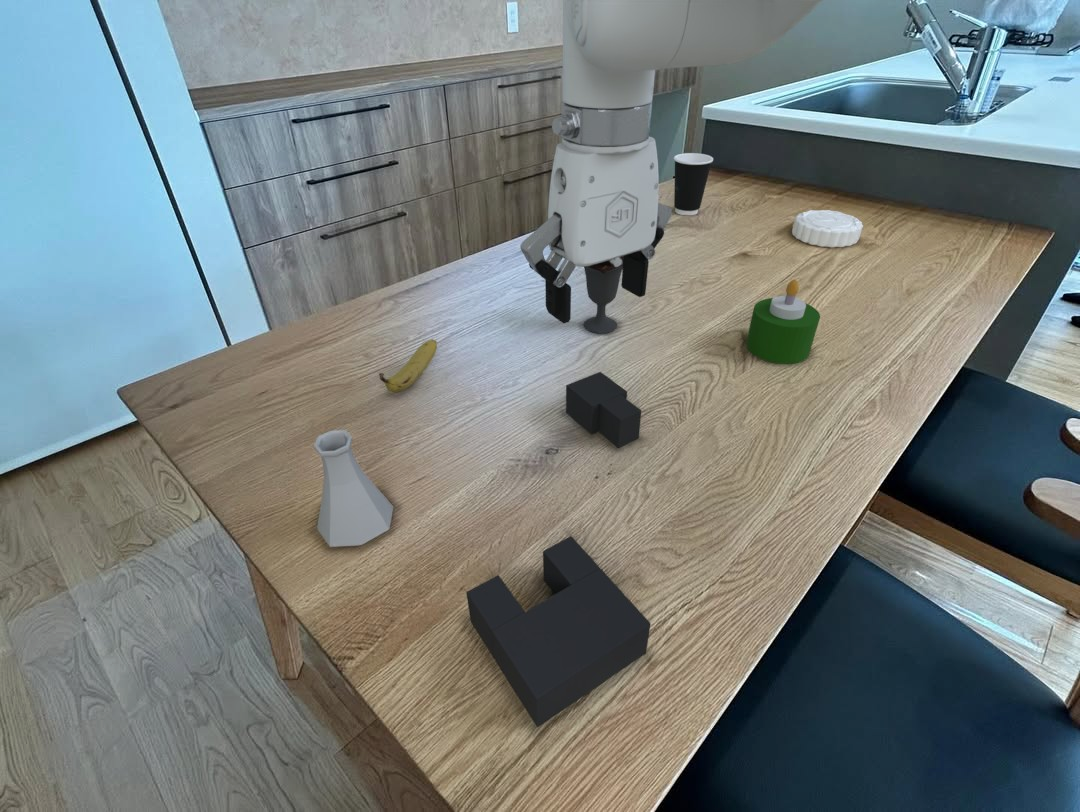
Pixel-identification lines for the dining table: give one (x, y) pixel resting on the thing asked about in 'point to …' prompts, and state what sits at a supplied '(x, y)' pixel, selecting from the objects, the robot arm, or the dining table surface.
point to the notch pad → (559, 631)
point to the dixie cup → (690, 181)
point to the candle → (782, 328)
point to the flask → (348, 495)
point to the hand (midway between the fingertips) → (597, 304)
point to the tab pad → (603, 409)
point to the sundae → (602, 292)
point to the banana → (411, 368)
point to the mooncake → (827, 228)
